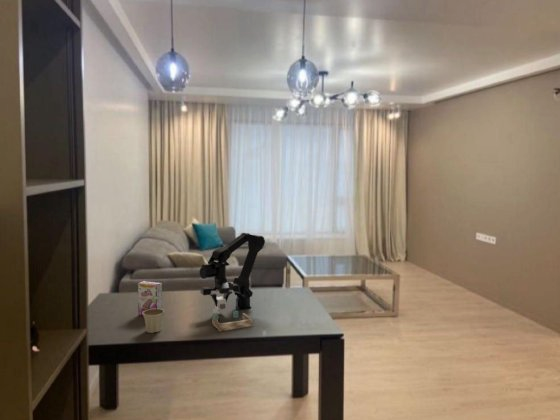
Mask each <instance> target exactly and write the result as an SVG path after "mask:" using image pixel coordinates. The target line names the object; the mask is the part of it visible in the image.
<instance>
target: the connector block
mask: <svg viewBox="0 0 560 420" xmlns="http://www.w3.org/2000/svg"><path fill="white" fill-rule="evenodd" d="M216 299H217V307H216V306H215V305H214V308H215V310H218V311H224V310H227V302H226V299H225V298H224V295H221V296H216Z"/></svg>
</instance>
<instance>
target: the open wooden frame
mask: <svg viewBox="0 0 560 420" xmlns="http://www.w3.org/2000/svg"><path fill="white" fill-rule="evenodd" d="M241 315H242V316H241V317H242V320H236V321H229V322H223V323H220V322H219V321H217V320H216V319H215V318H214V317H213V316H212V318H211V321H212V323H211V324H212V325H213V326H214V328H215V327H216V328H217V329H218V330H219V332H223V331H222V330H224V331H228V330H229V329H230V330H236V329H242V328H246V327H247V328H249V327H253V319H252V318H251V316H249V315H248V314H246V313H245V312H242V314H241ZM216 328H215V329H216ZM217 329H216V330H217ZM218 330H217V331H218ZM230 330H229V331H230Z"/></svg>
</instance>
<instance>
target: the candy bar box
mask: <svg viewBox="0 0 560 420" xmlns="http://www.w3.org/2000/svg"><path fill="white" fill-rule="evenodd" d="M162 283H163V282H162ZM162 283H161V282H155V281H147V280H143V281H140V282H138V283H137V301H138V302H137V304H138V305H137V308H138V309H137V310H138V316H143V314H142V312H143V311H145V310H149V309H163V284H162ZM143 317H144V316H143Z"/></svg>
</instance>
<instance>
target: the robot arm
mask: <svg viewBox="0 0 560 420" xmlns="http://www.w3.org/2000/svg"><path fill="white" fill-rule="evenodd" d="M246 243H247V247H248V251H247V254H246V257H245V260H244V262H243V265H242V269H241V271H240V273H239V276H238V277H234V278H233V282H232V281H228V279H227V273H226V272H227V270H226V269H227V268H226V267H227V266H230V263H229V262H227V260H228V259H229V258H231V255H232V254H233V253H234V252H235V251H236V250H238V249H239V248H241V247H242V246H243V245H245V244H246ZM265 243H266V239H265V237H264V236H262V235H256V234H251V233H249V232H241V233H240V234H239V236H237V237H236V238H234V239H233V240H232V241H230V242H229V243H227V244H226V245H225V246H221V247H218V248H216V249H214V250H213V251H212V254H211V256H210V258H209V260H208V261H207V263H204V264H202V265H201V267H200V269H199V276H200V278H201V279H209V278H213V279H214V280H213V281H214V282H213V283H214V284H213V287H209V286H201V287H200V289H199V290H200V294H201V295H203V296H208V295H209V296H210V297H211V299H212V300H213V303H214V307H215V306H216V307H217V299H216V297H218V294H217V293H216V292H218V293H219V295H220V294H221V295H223V297H224V298H225V299H226V303H227V302H228V299H229V296H230V295H232V294H233V293H234V295H235V296H236V298H235V307H236V308H237V309H239V310H246V309H252V306H251V297H252V296H253V294H254V292H253V291H252V290H251V289H250V285H251V284H250V276H251V274H252V270H253V267H254V265H255V263H256V259H257V256H258V253H259V252H261V250H262V249H263V248H264V246H265Z"/></svg>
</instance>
